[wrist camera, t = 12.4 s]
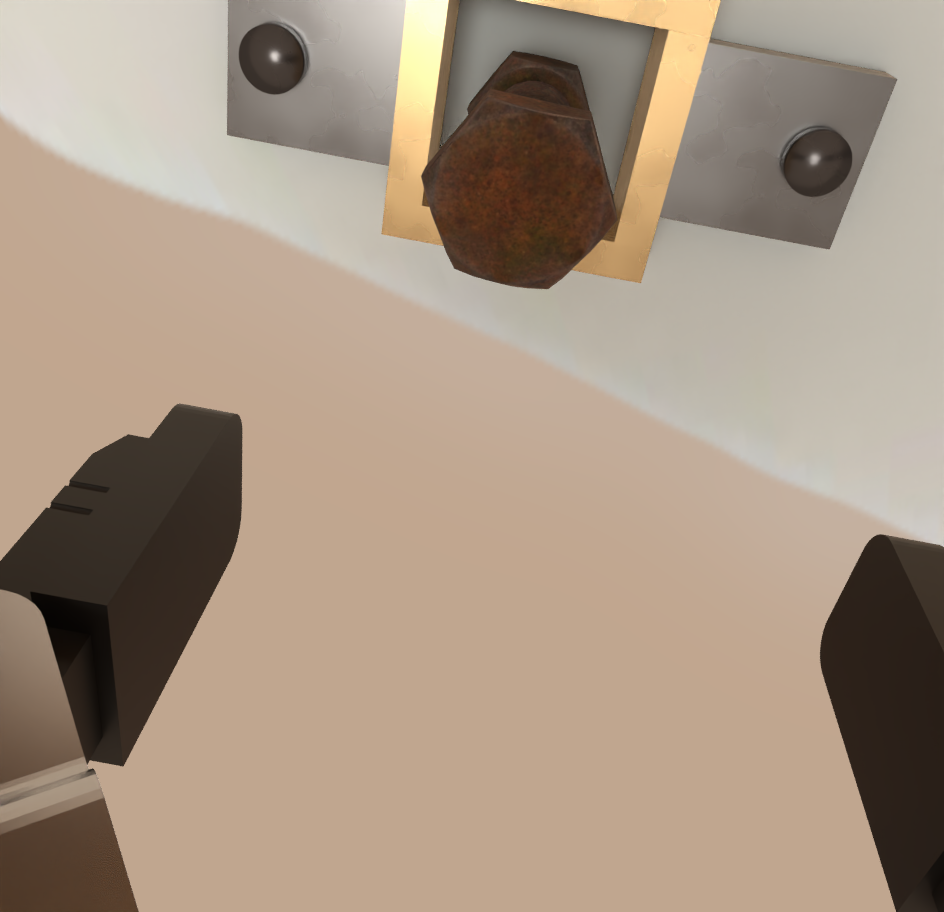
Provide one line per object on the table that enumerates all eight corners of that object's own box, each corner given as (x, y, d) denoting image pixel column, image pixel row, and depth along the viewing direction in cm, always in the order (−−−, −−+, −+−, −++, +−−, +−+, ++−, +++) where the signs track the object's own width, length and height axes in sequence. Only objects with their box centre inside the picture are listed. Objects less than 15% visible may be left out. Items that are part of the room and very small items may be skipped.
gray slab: (436, -15, 36) (428, -9, 34) (415, 160, 40) (406, 174, 38) (241, -52, 36) (221, -48, 34) (239, 126, 40) (220, 139, 38)
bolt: (610, 145, 39) (630, 271, 26) (500, 180, 40) (468, 316, 27) (574, 3, 36) (577, 68, 23) (457, 46, 37) (399, 129, 24)
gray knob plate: (885, 71, 36) (903, 82, 34) (820, 236, 40) (833, 256, 38) (667, 30, 36) (673, 38, 34) (623, 199, 40) (626, 216, 38)
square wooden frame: (706, -21, 35) (723, -9, 31) (634, 246, 41) (640, 283, 37) (431, -74, 35) (414, -68, 31) (399, 201, 41) (381, 233, 37)
